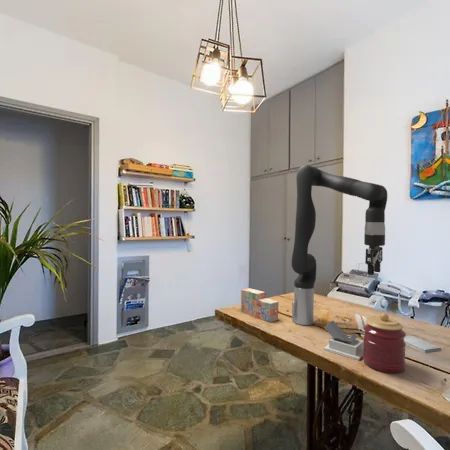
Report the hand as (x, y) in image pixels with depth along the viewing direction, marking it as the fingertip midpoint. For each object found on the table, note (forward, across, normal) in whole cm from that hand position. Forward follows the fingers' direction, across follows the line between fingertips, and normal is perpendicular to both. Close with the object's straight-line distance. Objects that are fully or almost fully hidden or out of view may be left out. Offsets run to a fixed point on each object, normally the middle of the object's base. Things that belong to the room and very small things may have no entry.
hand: (374, 273), depth 121 cm
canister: (+28, +18, +9) cm, 35 cm away
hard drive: (+29, -10, +14) cm, 34 cm away
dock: (+28, +16, -5) cm, 32 cm away
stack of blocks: (+28, +5, -54) cm, 61 cm away
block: (+25, +15, -3) cm, 30 cm away
